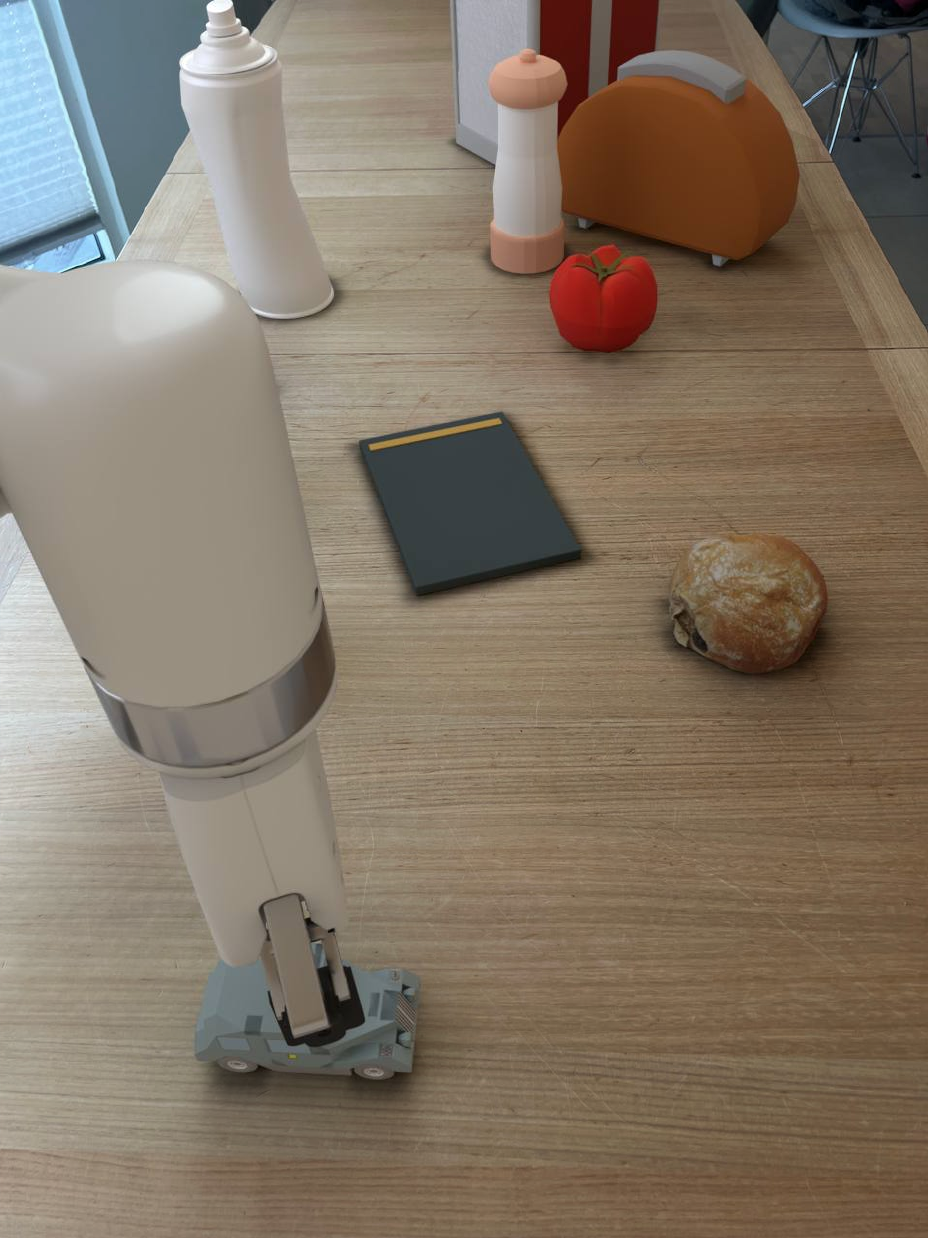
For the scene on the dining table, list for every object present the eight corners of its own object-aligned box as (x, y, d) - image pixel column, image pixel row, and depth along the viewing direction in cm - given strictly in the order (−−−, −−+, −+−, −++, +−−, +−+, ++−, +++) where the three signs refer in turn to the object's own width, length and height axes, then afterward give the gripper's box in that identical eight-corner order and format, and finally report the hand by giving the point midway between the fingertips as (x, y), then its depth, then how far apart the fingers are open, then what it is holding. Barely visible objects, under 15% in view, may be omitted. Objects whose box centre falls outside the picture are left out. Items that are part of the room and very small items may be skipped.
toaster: (791, 242, 107) (824, 63, 95) (750, 279, 102) (780, 95, 90) (591, 190, 117) (599, 23, 106) (546, 221, 112) (548, 49, 101)
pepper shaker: (574, 246, 108) (581, 40, 95) (547, 279, 104) (551, 67, 90) (508, 235, 111) (506, 32, 97) (479, 266, 106) (472, 58, 92)
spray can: (204, 317, 101) (136, 27, 83) (234, 264, 108) (177, -13, 91) (324, 320, 100) (281, 26, 82) (346, 265, 107) (310, -15, 90)
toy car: (413, 1084, 50) (405, 1039, 46) (203, 1072, 50) (180, 1027, 47) (426, 955, 54) (419, 906, 51) (233, 947, 55) (214, 897, 52)
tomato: (668, 329, 96) (677, 250, 91) (621, 376, 91) (627, 295, 86) (578, 303, 100) (581, 226, 95) (528, 346, 95) (528, 267, 90)
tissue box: (452, 140, 129) (439, -128, 110) (568, 106, 135) (576, -154, 116) (532, 186, 119) (534, -101, 100) (654, 146, 125) (678, -131, 106)
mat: (416, 596, 73) (415, 586, 72) (359, 448, 85) (358, 438, 85) (581, 558, 75) (581, 548, 74) (502, 418, 87) (502, 409, 87)
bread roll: (649, 639, 74) (621, 586, 67) (745, 532, 75) (727, 469, 68) (763, 721, 69) (745, 672, 62) (866, 605, 69) (859, 544, 63)
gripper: (86, 521, 40) (196, 793, 52) (112, 923, 28) (247, 1155, 40) (285, 476, 41) (347, 752, 53) (392, 844, 29) (441, 1092, 41)
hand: (304, 925), depth 46 cm, fingers open, 9 cm apart
